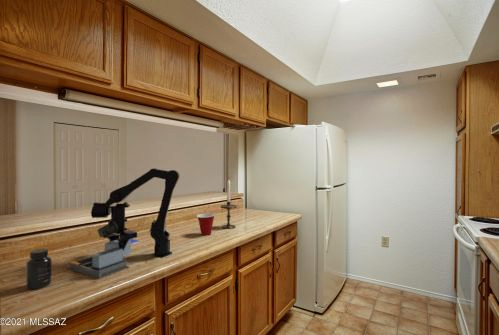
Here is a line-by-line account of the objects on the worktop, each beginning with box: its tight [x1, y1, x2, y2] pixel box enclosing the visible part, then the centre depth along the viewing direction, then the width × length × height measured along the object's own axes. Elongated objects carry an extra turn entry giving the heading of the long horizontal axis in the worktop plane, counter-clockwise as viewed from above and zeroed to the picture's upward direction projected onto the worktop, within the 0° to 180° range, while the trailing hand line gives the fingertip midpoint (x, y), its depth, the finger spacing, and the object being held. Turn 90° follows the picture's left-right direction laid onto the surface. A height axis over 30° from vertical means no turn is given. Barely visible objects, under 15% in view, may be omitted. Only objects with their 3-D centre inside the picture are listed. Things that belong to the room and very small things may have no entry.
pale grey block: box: [104, 239, 132, 257], centre depth 122 cm, size 10×4×7 cm, turn 152°
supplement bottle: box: [25, 248, 52, 291], centre depth 92 cm, size 7×7×12 cm
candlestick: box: [219, 175, 238, 230], centre depth 180 cm, size 11×11×35 cm
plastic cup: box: [196, 212, 216, 236], centre depth 162 cm, size 11×11×12 cm
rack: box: [67, 247, 130, 280], centre depth 108 cm, size 13×20×7 cm, turn 62°
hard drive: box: [131, 238, 139, 245], centre depth 141 cm, size 2×8×12 cm
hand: (118, 252), depth 122 cm, fingers closed on pale grey block, 4 cm apart
